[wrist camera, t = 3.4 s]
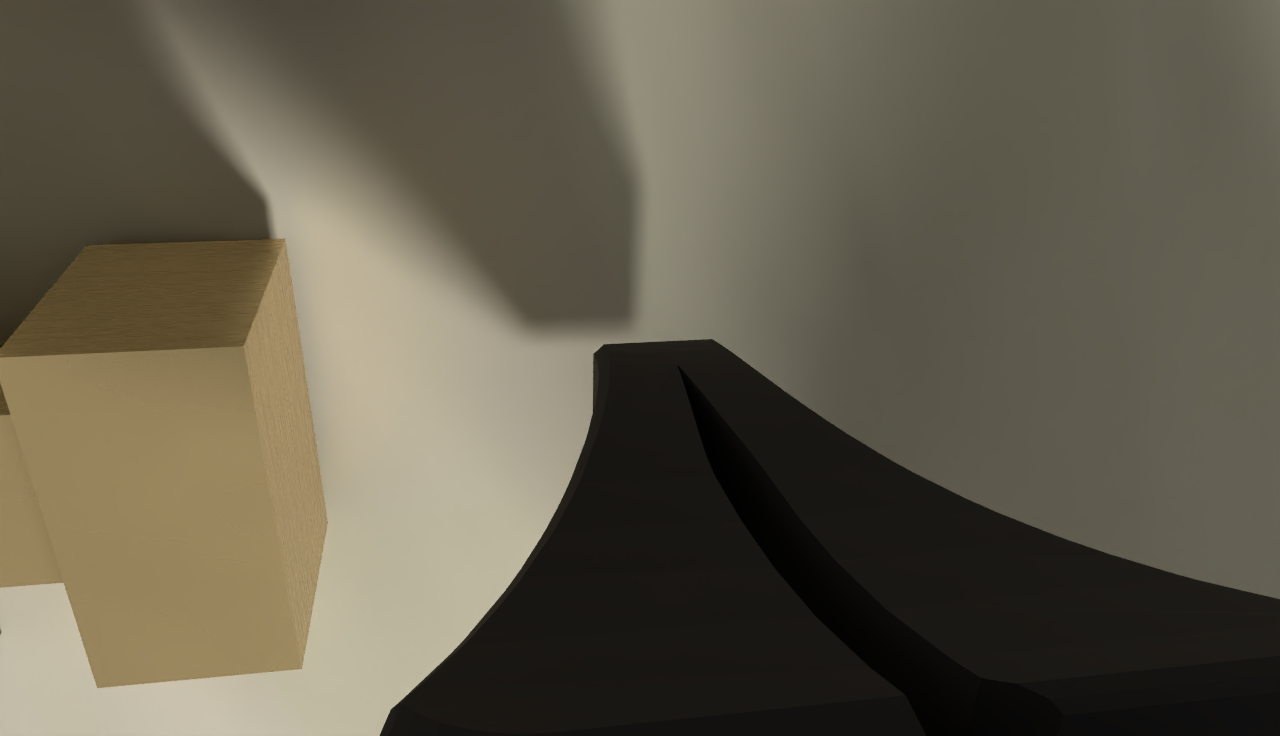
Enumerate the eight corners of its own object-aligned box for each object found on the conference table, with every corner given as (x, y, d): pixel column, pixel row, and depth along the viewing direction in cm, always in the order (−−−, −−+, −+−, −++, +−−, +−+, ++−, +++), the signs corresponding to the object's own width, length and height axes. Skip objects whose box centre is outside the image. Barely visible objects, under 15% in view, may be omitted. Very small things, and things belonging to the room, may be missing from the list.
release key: (285, 238, 11) (243, 347, 9) (327, 522, 13) (302, 668, 11) (-158, 253, 10) (-320, 371, 8) (-46, 549, 12) (-154, 711, 10)
